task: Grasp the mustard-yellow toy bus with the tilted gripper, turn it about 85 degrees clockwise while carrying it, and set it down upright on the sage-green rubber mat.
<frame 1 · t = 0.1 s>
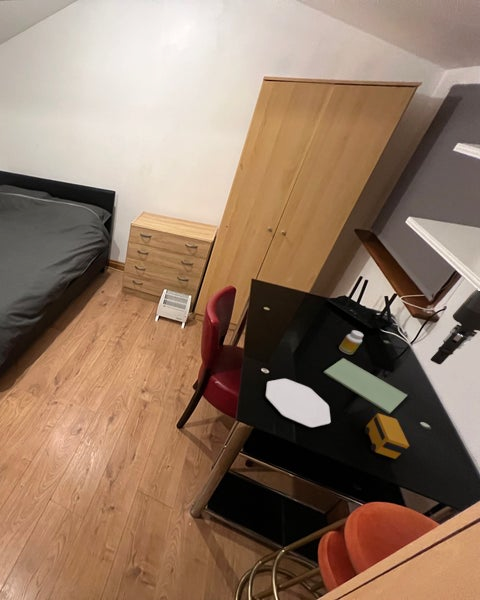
hand: (440, 357, 88), 33 cm above the table, tool pointing down, fingers open, 8 cm apart
toy bus: (377, 444, 101), on the table
supplement bottle: (345, 350, 140), on the table
plate: (295, 403, 113), on the table
mat: (363, 384, 123), on the table
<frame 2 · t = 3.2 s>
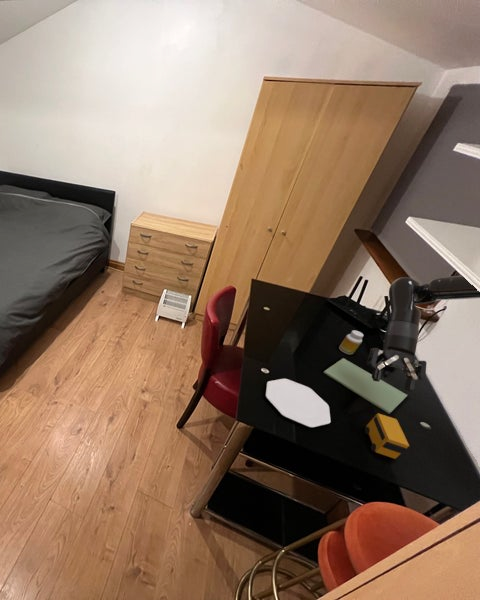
hand: (392, 385, 102), 15 cm above the table, tool tilted 45°, fingers open, 8 cm apart
nothing on the table moved.
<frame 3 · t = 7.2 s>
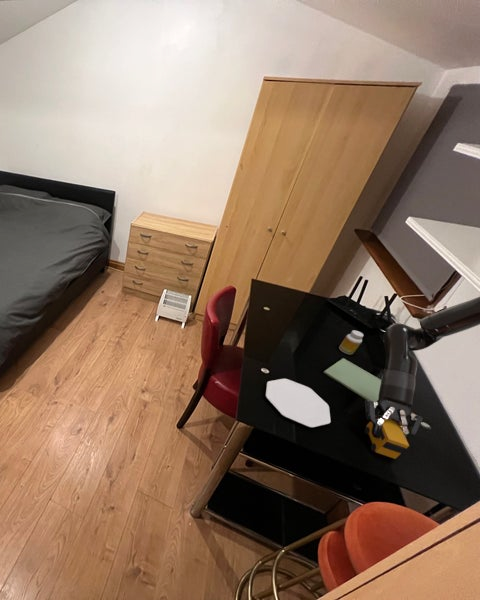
hand: (387, 441, 98), 4 cm above the table, tool tilted 45°, fingers closed on toy bus, 5 cm apart
toy bus: (377, 444, 101), on the table, touching gripper
everything else where it was.
when the fingers open (5 cm above the table, at t = 18.8 s): toy bus stays where it is, resting on mat.
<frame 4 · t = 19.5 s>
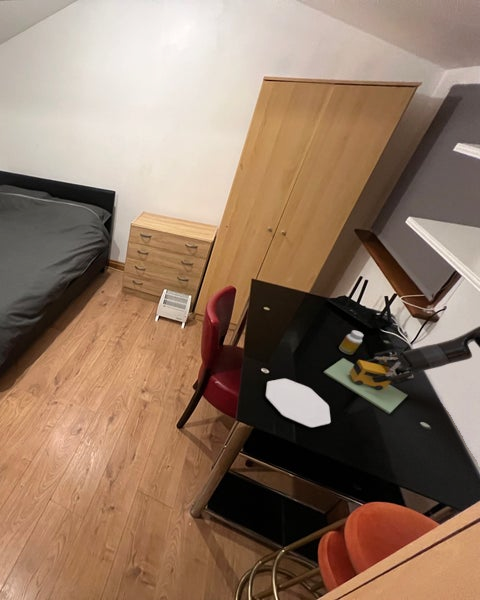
hand: (368, 372, 120), 6 cm above the table, tool tilted 45°, fingers open, 8 cm apart
toy bus: (364, 382, 123), point 1 cm above the table, touching mat
everything else where it was.
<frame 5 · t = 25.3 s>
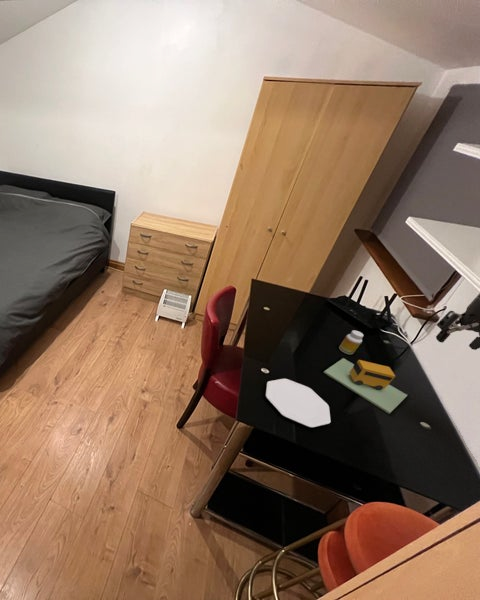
hand: (455, 344, 101), 28 cm above the table, tool pointing down, fingers open, 8 cm apart
nothing on the table moved.
at the end: toy bus inside the target area on the mat (0.1 cm from its centre), point 0.8 cm above the mat's base; toy bus tilted 0°; the gripper is holding nothing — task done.
